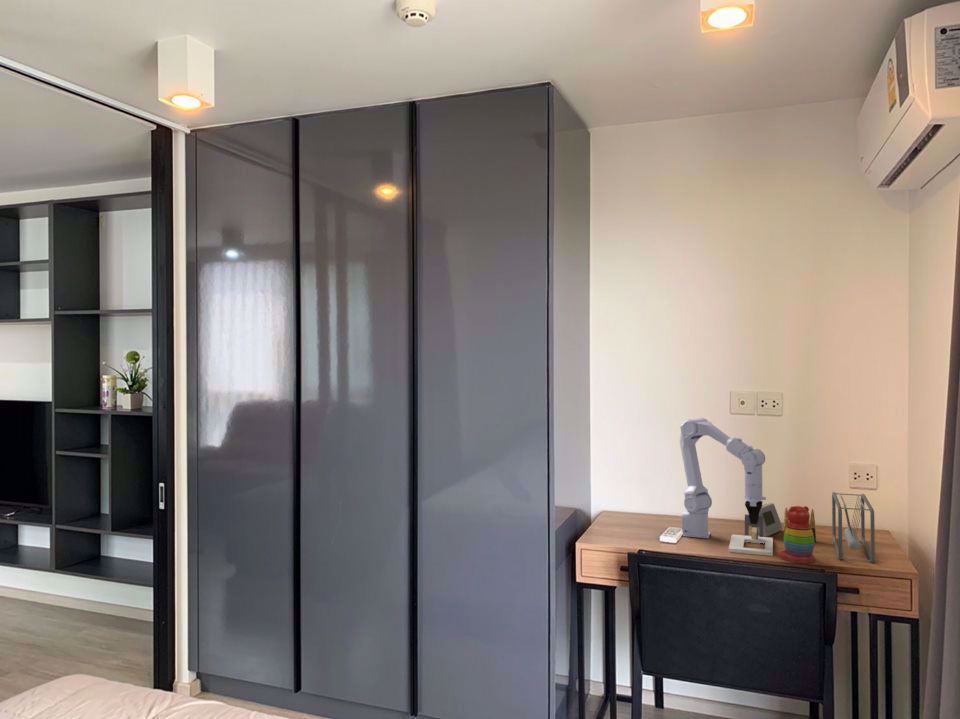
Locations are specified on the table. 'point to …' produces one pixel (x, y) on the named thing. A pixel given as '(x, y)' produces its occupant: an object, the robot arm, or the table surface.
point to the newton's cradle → (850, 532)
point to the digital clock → (770, 520)
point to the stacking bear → (798, 537)
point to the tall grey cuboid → (759, 524)
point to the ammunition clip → (811, 523)
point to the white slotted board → (739, 540)
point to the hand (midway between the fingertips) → (754, 522)
